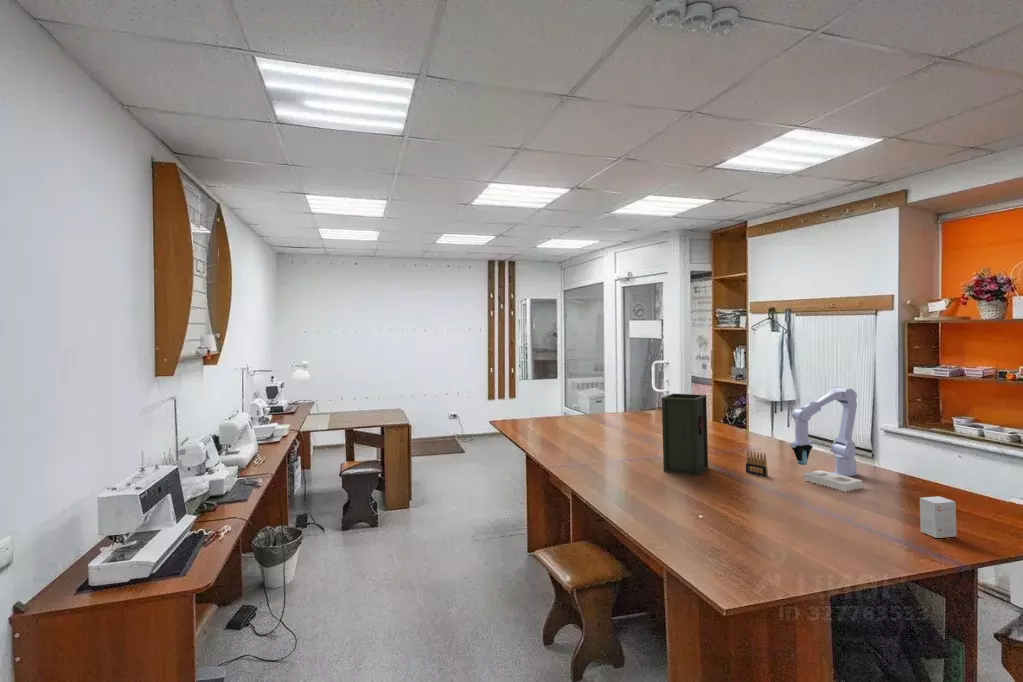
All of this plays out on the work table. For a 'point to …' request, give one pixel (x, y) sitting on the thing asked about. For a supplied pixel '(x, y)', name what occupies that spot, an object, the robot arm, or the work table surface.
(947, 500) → the small box
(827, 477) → the bore block
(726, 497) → the work table surface
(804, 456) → the teal cylinder
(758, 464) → the ammunition clip
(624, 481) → the work table surface
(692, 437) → the dark green bin
